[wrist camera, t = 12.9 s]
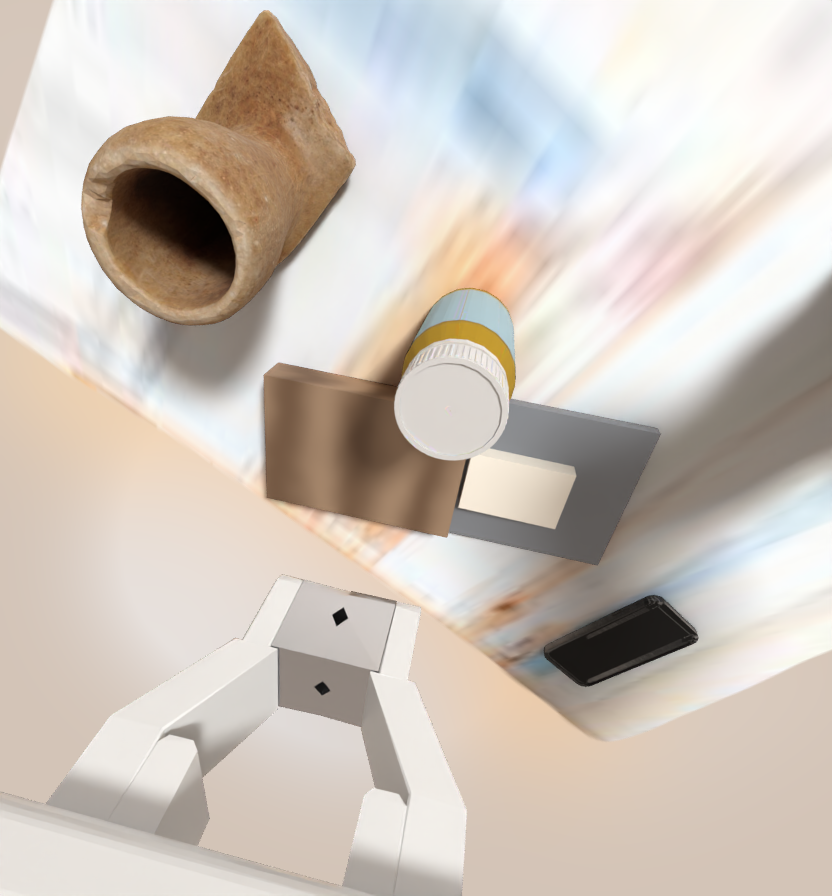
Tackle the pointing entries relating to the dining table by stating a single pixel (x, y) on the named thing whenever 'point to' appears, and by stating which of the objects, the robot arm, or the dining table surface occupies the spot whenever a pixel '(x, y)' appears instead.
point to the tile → (517, 487)
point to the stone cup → (217, 186)
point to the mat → (593, 492)
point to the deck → (351, 452)
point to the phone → (621, 641)
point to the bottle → (458, 377)
